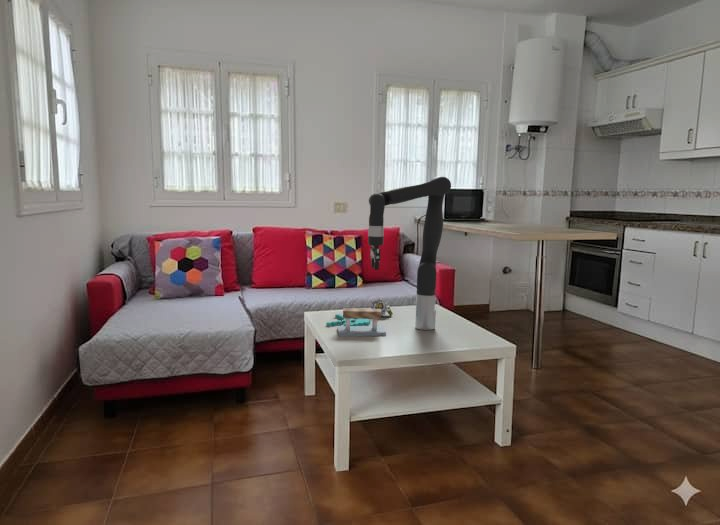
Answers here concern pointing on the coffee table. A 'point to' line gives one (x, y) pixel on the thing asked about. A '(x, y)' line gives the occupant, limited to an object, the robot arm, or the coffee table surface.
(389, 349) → the coffee table surface
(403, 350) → the coffee table surface
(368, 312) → the shelf board
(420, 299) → the robot arm
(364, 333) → the peg stand
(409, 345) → the coffee table surface
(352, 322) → the alien figure
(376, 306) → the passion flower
